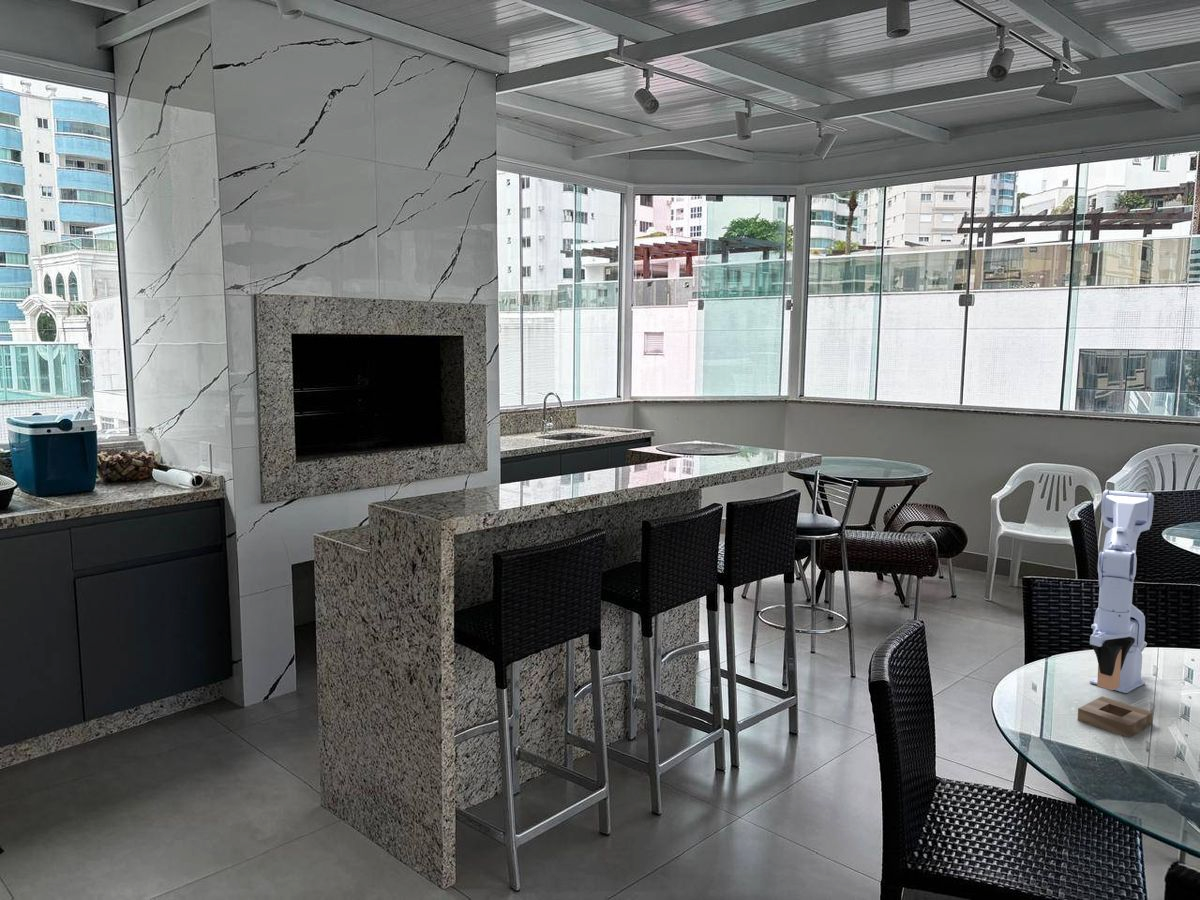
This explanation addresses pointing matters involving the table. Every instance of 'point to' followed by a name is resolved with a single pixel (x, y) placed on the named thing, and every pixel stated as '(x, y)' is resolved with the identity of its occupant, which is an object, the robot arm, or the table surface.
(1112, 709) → the socket
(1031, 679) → the table surface
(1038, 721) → the table surface
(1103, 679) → the peg
